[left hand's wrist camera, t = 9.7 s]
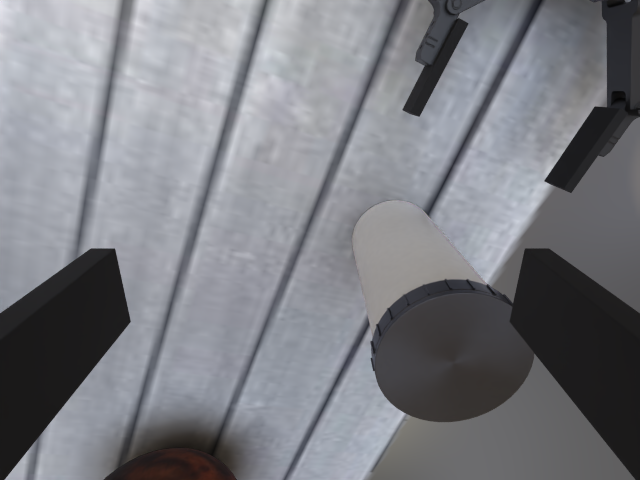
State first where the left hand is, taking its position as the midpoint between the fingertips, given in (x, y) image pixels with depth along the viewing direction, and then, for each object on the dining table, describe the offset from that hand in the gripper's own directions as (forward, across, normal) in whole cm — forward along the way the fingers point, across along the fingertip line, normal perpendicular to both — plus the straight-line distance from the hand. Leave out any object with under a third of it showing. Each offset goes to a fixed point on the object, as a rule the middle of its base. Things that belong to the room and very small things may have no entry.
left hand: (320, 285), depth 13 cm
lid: (+7, +8, -9) cm, 14 cm away
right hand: (+19, +13, +1) cm, 23 cm away
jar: (+26, +8, -9) cm, 28 cm away
